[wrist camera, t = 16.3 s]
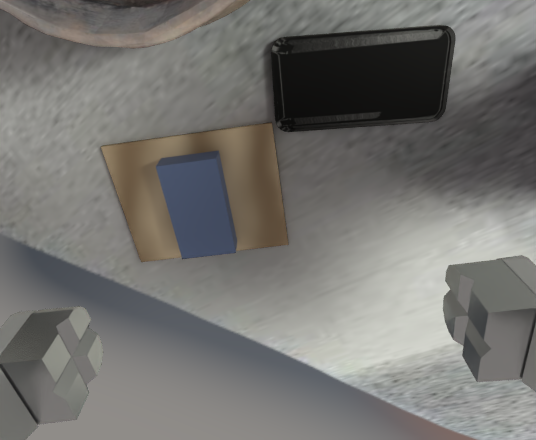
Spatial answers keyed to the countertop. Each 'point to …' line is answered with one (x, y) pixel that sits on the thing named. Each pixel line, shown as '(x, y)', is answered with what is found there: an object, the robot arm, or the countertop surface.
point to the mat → (236, 178)
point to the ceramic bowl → (119, 19)
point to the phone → (362, 78)
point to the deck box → (198, 204)
